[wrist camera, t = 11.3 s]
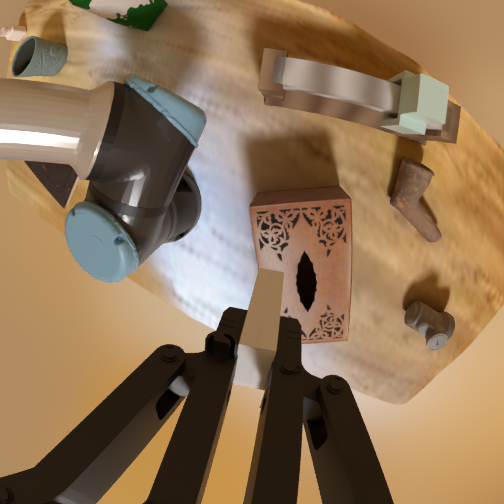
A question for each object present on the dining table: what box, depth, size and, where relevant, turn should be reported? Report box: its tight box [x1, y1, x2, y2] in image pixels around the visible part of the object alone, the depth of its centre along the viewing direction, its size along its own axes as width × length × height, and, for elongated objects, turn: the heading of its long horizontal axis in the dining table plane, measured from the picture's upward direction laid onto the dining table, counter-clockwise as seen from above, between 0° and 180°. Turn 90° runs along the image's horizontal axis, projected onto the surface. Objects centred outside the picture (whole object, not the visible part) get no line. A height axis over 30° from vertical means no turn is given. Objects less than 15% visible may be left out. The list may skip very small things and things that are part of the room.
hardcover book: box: [25, 161, 79, 209], centre depth 48 cm, size 16×23×2 cm
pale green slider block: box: [380, 70, 449, 135], centre depth 27 cm, size 4×8×13 cm, turn 172°
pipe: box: [390, 157, 441, 242], centre depth 40 cm, size 6×17×10 cm
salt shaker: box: [0, 25, 27, 41], centre depth 29 cm, size 4×4×10 cm
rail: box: [258, 48, 461, 145], centre depth 32 cm, size 29×8×11 cm, turn 82°
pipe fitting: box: [404, 301, 455, 351], centre depth 47 cm, size 12×8×10 cm, turn 65°
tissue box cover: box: [249, 186, 352, 344], centre depth 46 cm, size 26×14×10 cm, turn 8°
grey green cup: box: [12, 36, 68, 77], centre depth 33 cm, size 10×10×12 cm
